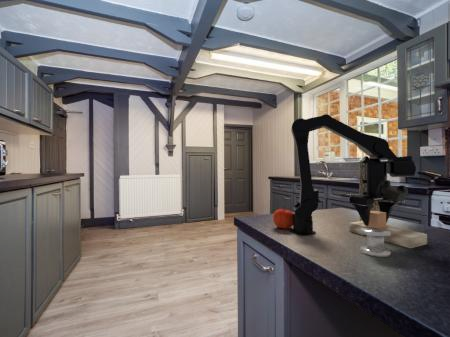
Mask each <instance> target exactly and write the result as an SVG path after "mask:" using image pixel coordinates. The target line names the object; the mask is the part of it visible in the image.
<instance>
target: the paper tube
mask: <svg viewBox="0 0 450 337" xmlns="http://www.w3.org/2000/svg"><path fill="white" fill-rule="evenodd" d="M358 165H359V168H358V170H359V171H358V172H359V176H358V178H359V181H358V182H359V185H358V186H359V190H358V192H359V193H358V194H363V192H366V183H363V180H366V163H359V164H358ZM372 205H373V206H374V207H373V208H372V209H371V210H370V211H379V212H380V209H379V205H378V201H374V203H373V204H372ZM359 221H362V219H361V217H360V216H359Z"/></svg>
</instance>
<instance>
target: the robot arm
mask: <svg viewBox="0 0 450 337" xmlns="http://www.w3.org/2000/svg"><path fill="white" fill-rule="evenodd" d="M319 129H326V130H327V131H329V132H331V133H333V134H334V135H337V136H339V137H341V138H342V139H345V140H347V141H348V142H350V143H352V144H354V145H355V146H356V147H357V148H358V149H359V150H360V151H361V152H362V153H364V154H365V155H366V156H364V157H363V158H362V159H361V160H359V163H366V180H363V183H366V192H363V194H359V193H354V194H353V193H352V194H351V195H349V197H348V201H349V204H351V205H352V206H354V208H355V210H356V211H357V213H358V215H359V218H360V217H361V219H362V221H363V223H364V225H366V226H368V225H369V218H370V210H371V209H372V208H373V207H374V206H373V205H372V204H373V203H374V201H378V205H379V212H385V213H386V224H387V223H388V220H389V219H390V215H391V213H392V211H393V209H394V208H395V207H396V206H398V205H399V204H400V202H402V203H403V202H404V201H405V198H406V197H409V190H408V186H406V185H404V184H403V185H398V186H393V185H391V181H390V180H389V179H387V175H389V176H390V177H391V178H412V177H414V176H415V174H416V171H417V166H416V164H415V161H414V160H413V155H404V156H397V155H396V154H395V153H394V152H393V151H392V149H391V147H390V145H389V144H390V143H389V142H388V141H387V140H386V139H384V138H381V137H378V136H376V135H372V134H367V133H363V132H361V131H360V130H358V129H356V128H353V127H352V126H350V125H347V124H346V123H344V122H342V121H340V120H338V119H336V118H334V117H333V116H331V115H330V114H326V113H325V114H322V115H320V116H315V117H314V116H313V117H310V118H307V119H305V118H297V119H295V120H294V121H293V122H292V125H291V129H290V132H291V134H292V139H293V141H294V144H295V147H296V153H297V154H296V156H297V163H298V171H299V172H298V173H299V181H300V188H299V198H298V202H297V203H296V204H295V205H294V206H293V211H294V212H293V226H292V228H291V229H290V228H289V232H290V233H291V232H292V233H295V234H297V235H300V236H306V235H312V234H317V232H316V231H315V230H314V221H313V216H312V215H313V213H314V212H315V211H316V210H317V209H318V208H319V203H321V201H320V199H319V193H320V192H319V190H318V189H317V188H314V186H313V182H312V181H313V180H312V173H311V172H312V171H311V163H310V154H309V137H310V132H313V131H316V130H319ZM370 157H372V158H370ZM374 157H375V158H374ZM381 160H387V161H381Z"/></svg>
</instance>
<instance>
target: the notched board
mask: <svg viewBox="0 0 450 337" xmlns="http://www.w3.org/2000/svg"><path fill="white" fill-rule="evenodd" d="M348 224H349V226H348V227H349V232H351V233H355V234H358V235H362V236H364V235H365V234H362V233H361V228H364V227H366V225H364V223H363V221H360V220H359V221H354V222H353V221H352V222H349V223H348ZM386 230H389V231H390V232H391V236H390V237H384V242H387V243H390V244H394V245H397V246H401V247H405V248H408V249H413V248H417V247H421V246H425V245H428V234H427V233H424V232H418V231H415V230H414V231H413V230H409V229H406V228H405V229H404V228H402V227H401V228H400V227H396V226H392V225H391V226H390V225H388V224H386ZM365 236H366V235H365Z"/></svg>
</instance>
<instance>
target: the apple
mask: <svg viewBox="0 0 450 337" xmlns="http://www.w3.org/2000/svg"><path fill="white" fill-rule="evenodd" d="M293 214H294V212H293V211H292V210H288V209H285V207H284V206H282V208H279V209H277V210H275V211H274V212H273V215H272V221H273V224H274V225H275V226H276V227H277V228H279V229H285V230H288V229H290V228H291V229H292V228H293Z"/></svg>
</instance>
